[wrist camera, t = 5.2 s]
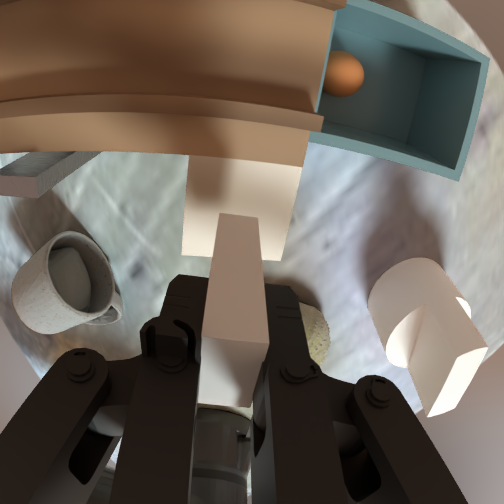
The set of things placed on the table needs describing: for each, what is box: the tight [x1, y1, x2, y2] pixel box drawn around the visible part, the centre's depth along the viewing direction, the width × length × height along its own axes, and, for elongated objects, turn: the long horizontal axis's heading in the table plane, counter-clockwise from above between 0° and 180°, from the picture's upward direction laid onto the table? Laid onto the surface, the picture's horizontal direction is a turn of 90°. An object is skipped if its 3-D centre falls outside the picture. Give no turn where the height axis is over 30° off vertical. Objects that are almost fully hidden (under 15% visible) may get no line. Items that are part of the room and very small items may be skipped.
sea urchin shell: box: [299, 302, 331, 366], centre depth 31 cm, size 9×8×8 cm
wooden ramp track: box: [0, 0, 347, 261], centre depth 10 cm, size 15×26×3 cm, turn 81°
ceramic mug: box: [11, 231, 123, 334], centre depth 25 cm, size 11×8×8 cm
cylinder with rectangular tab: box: [368, 257, 488, 417], centre depth 25 cm, size 9×9×12 cm
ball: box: [322, 51, 364, 97], centre depth 18 cm, size 3×3×3 cm
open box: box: [308, 0, 490, 182], centre depth 17 cm, size 8×10×8 cm
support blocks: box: [0, 151, 103, 198], centre depth 13 cm, size 14×24×12 cm, turn 81°
